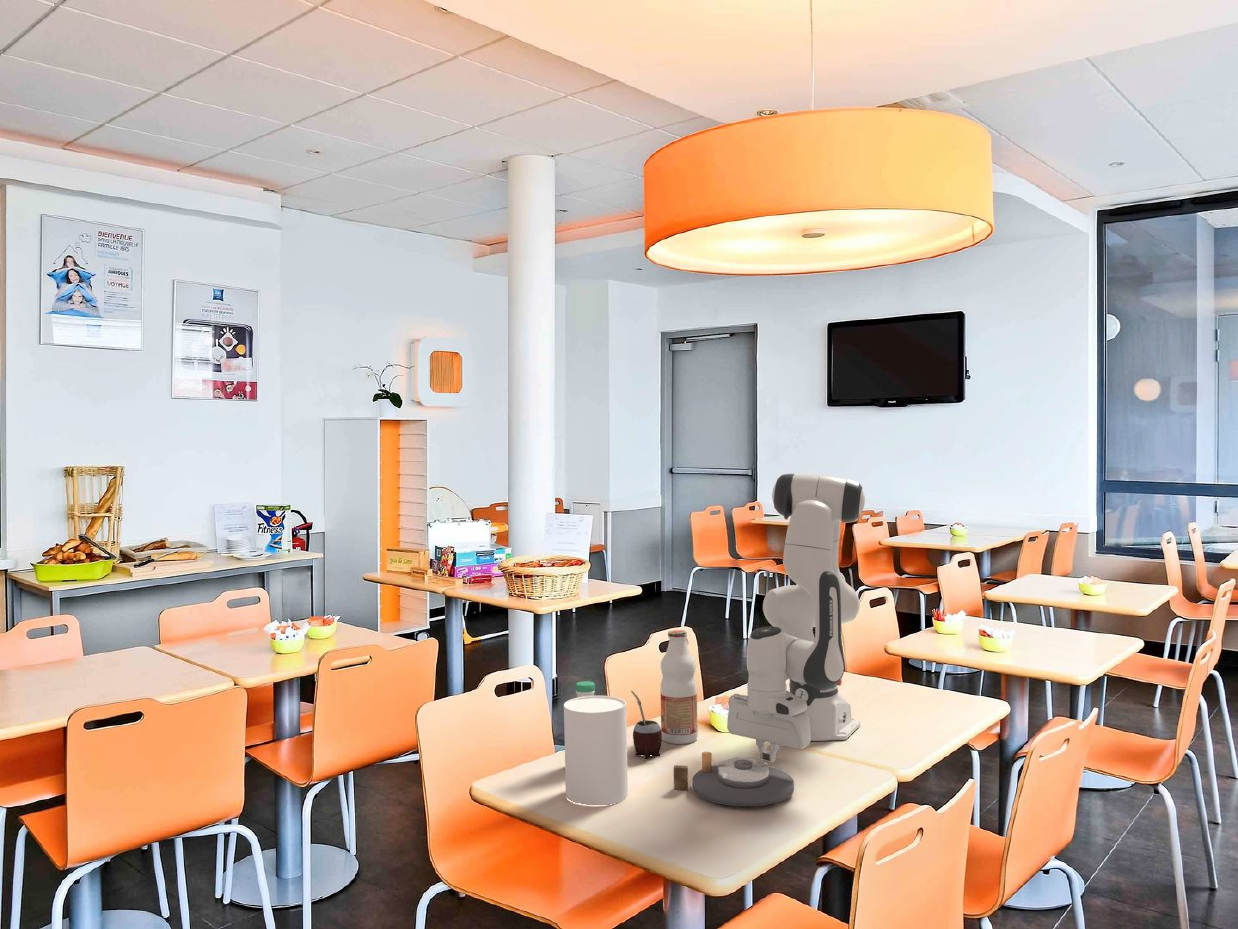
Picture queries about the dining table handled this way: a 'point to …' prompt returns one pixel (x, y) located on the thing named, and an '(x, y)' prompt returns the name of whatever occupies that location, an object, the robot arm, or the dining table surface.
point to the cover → (743, 773)
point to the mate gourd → (646, 736)
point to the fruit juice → (678, 692)
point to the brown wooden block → (680, 778)
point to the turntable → (714, 791)
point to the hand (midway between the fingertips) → (768, 760)
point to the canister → (595, 750)
